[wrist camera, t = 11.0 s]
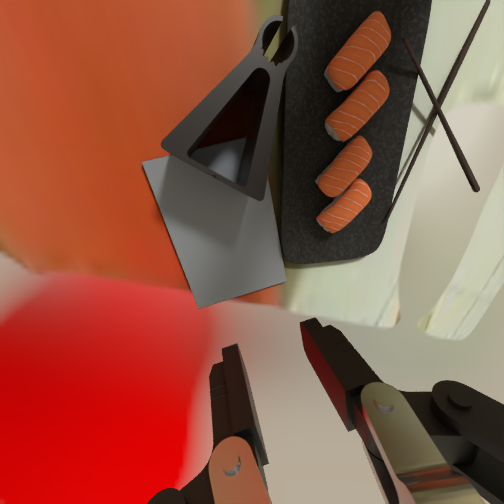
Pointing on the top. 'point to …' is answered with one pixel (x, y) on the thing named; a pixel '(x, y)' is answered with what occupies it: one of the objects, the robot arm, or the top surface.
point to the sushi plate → (352, 121)
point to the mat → (217, 224)
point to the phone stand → (262, 118)
